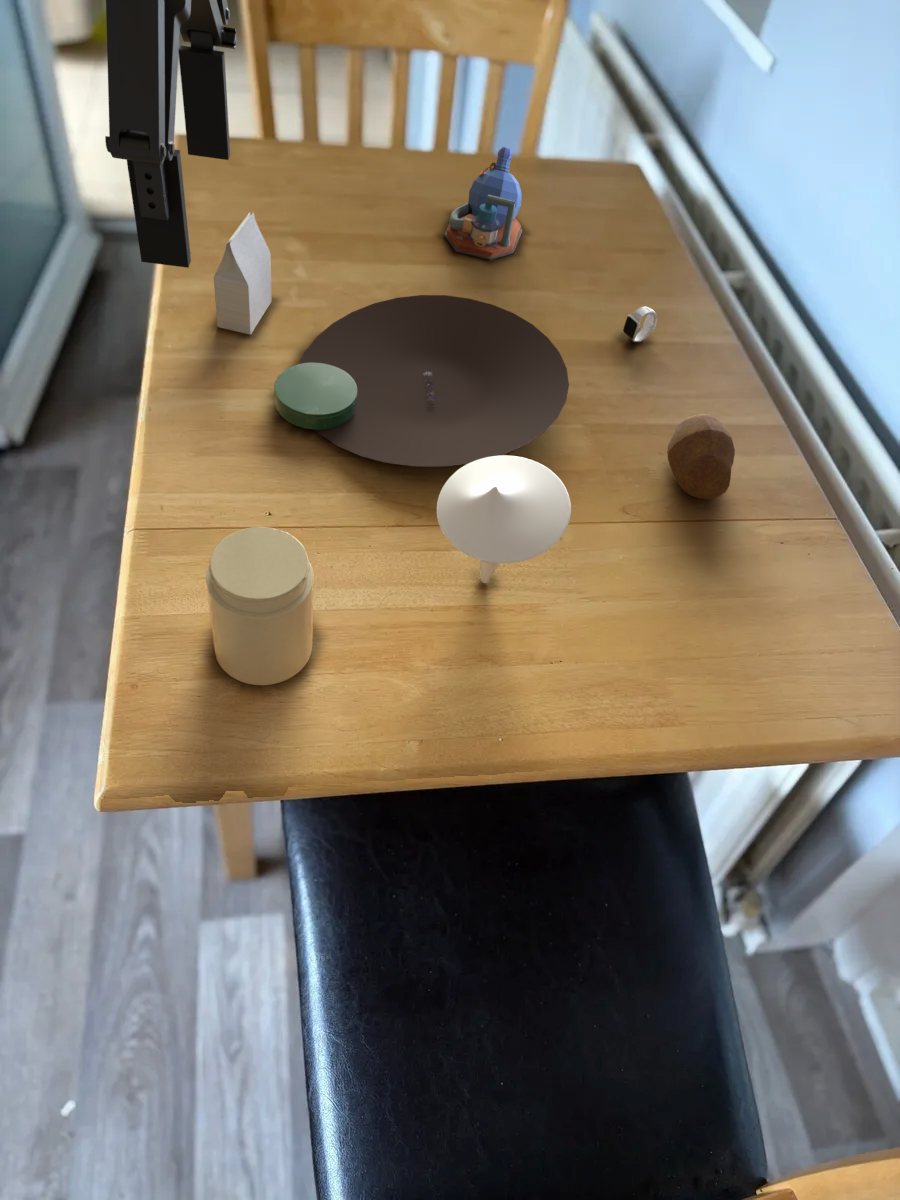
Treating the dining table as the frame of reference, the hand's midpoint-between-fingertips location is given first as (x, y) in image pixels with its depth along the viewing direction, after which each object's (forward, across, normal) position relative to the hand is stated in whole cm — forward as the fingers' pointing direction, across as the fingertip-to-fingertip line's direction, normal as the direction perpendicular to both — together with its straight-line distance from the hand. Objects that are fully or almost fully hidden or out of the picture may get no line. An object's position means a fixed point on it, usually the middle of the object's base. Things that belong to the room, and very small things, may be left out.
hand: (189, 204), depth 58 cm
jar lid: (+27, +17, -7) cm, 32 cm away
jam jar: (+29, -13, -6) cm, 32 cm away
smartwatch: (+29, +35, -42) cm, 62 cm away
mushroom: (+29, -4, -24) cm, 38 cm away
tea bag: (+29, +31, +3) cm, 42 cm away
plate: (+29, +21, -18) cm, 40 cm away
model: (+29, +55, -24) cm, 66 cm away
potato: (+29, +12, -45) cm, 55 cm away
